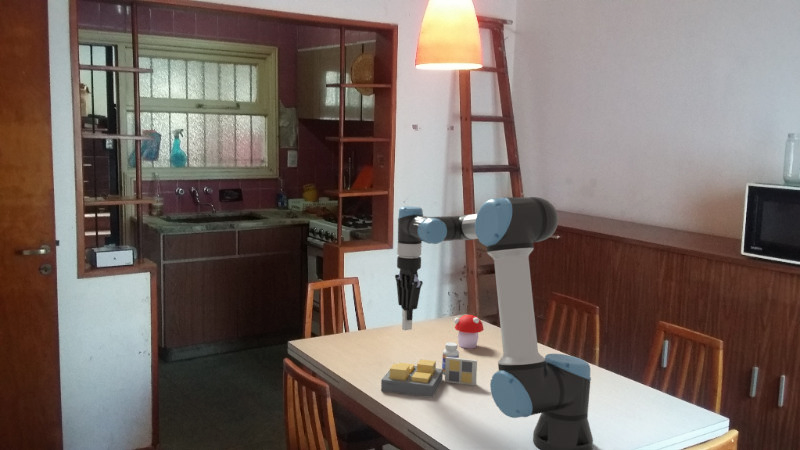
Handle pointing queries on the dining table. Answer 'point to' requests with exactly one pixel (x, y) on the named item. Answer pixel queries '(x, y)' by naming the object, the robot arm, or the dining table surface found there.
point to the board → (412, 384)
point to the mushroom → (468, 330)
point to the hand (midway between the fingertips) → (407, 329)
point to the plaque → (460, 370)
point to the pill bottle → (449, 353)
